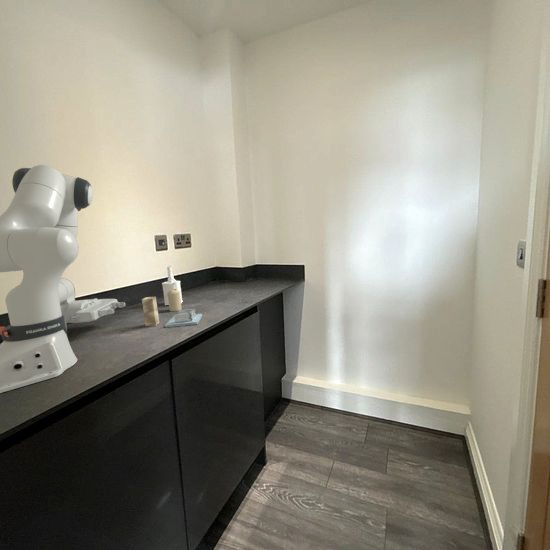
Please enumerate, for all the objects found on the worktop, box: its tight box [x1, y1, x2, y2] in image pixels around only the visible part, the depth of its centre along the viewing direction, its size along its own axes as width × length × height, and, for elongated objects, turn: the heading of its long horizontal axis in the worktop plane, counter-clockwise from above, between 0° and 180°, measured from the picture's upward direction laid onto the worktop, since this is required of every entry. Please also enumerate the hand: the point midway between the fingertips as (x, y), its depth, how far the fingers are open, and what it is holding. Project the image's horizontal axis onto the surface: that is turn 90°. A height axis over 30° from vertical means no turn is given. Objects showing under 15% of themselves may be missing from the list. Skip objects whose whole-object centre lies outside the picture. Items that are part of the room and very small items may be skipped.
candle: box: [167, 289, 183, 312], centre depth 139 cm, size 6×6×10 cm
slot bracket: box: [173, 308, 197, 323], centre depth 118 cm, size 8×7×3 cm
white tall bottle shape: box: [161, 265, 184, 306], centre depth 151 cm, size 10×9×20 cm
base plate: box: [164, 313, 203, 328], centre depth 118 cm, size 12×12×1 cm
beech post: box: [141, 296, 160, 327], centre depth 117 cm, size 4×4×11 cm
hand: (119, 307), depth 116 cm, fingers open, 8 cm apart
